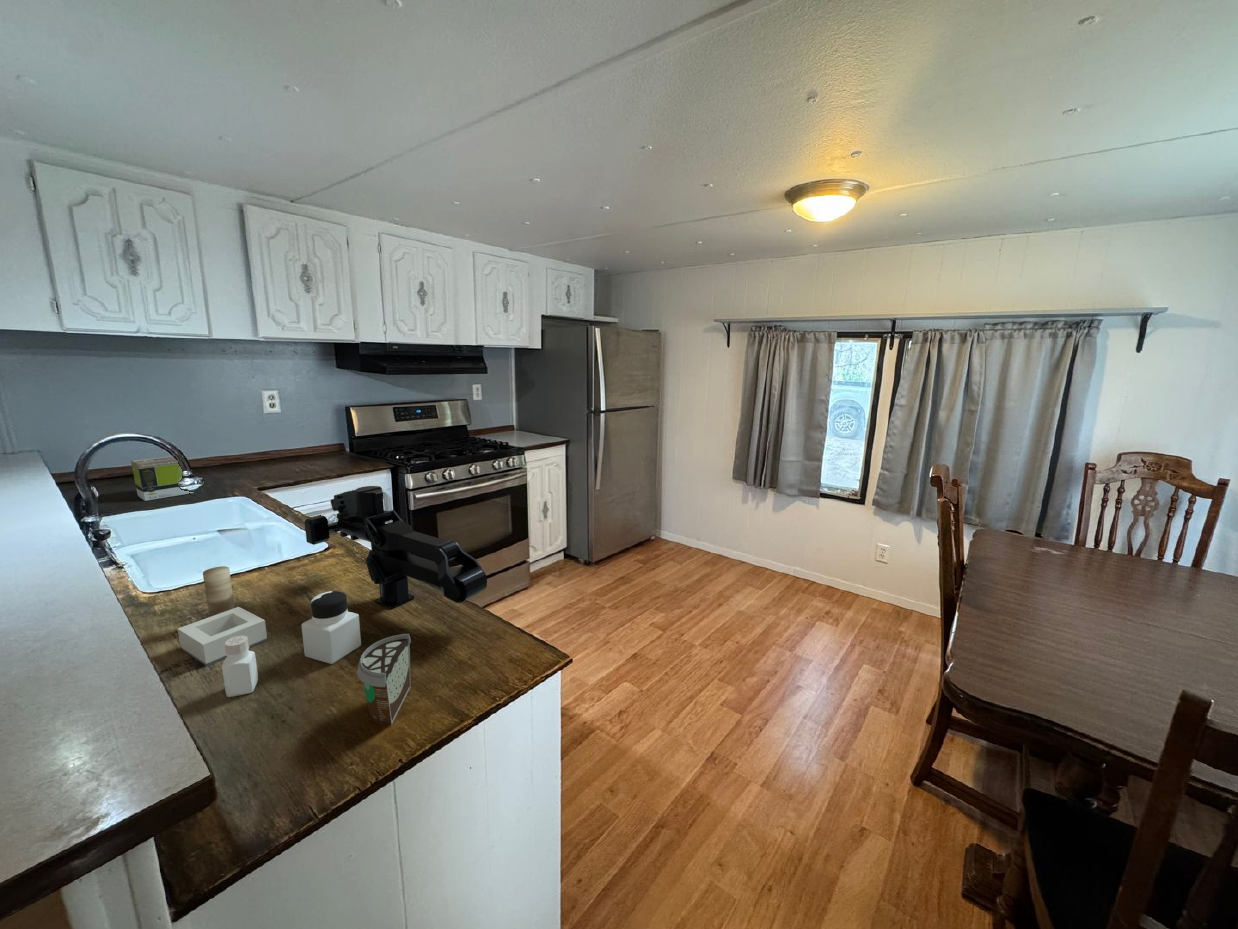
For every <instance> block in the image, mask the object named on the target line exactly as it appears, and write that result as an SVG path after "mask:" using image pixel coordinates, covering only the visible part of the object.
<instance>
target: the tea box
mask: <svg viewBox="0 0 1238 929" xmlns="http://www.w3.org/2000/svg"><path fill="white" fill-rule="evenodd" d="M172 456H173V455H169V456H162V457H151V458H143V459H136V460H131V461H130V463H131V468H132V473H133V478H134V485H135V490H136V493H137V497H139V498H140V499H141V500H143V501H153V500H158V499H164V498H171V497H176V496H183V495H189V493H190V494H194V492H189V491H184V490H181V489H180V488H179V486H178V483H179V481H180V480H181V479H182V476H183V472H182V469H181V467H180V466H179V464H178V461H177V460H175V459H174V458H173V457H172ZM186 458H187V457H186ZM187 460H188V461H189V458H187Z"/></svg>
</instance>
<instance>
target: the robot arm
mask: <svg viewBox="0 0 1238 929" xmlns="http://www.w3.org/2000/svg"><path fill="white" fill-rule="evenodd" d="M329 502H330V505H331V508H332V510H333V512H338V513H336V519H337V521H336V522H331V523H329V520H328V518H327V516H325V515H322V514H318V515H315V516H311V517H308V518H306V519H305V520H304V531H305V540H306V543H307V544H310V545H312V546H314V545H318V544H321V543H325V542H328V541H329V540H330V535H331V534H336V533H338V532H340V533H339V534H340V537H341V538H345V537H348V536H350V540H351V541H357V540H363V541H366V542H368V543H370V547H371V548H370V549H371V550H369V552H368V554H367V557H366V560H365V564H366V568H367V571H368V574H369V577H370V580H371V581H372V582H373V583H374V584H375V585H378V586H379V596H380V597H377V598H375V599H374V603H377V604H379V605H381V606H384V607H387V608H389V609H394V608H396V607H399V606H400V605H402V604H406V602H409V601H411V600H413V599H415V595H413V594H411V593H409V590H410V589H409V578H412V579H415V580H417V581H419V582H420V581H421V582H423V583H427V584H429V585H431V586H434V587H437V588H440V590H441V591H442V594H443V596H444V597H445V598H447V599H448V600H450V601H452V602H454V603H456V604H462V603H464V602H466V601H467V600H469V599H471V598H473V597H475V596H477V595H478V594H480V593H482V592H484V591H486V589H487V586H488V576H487V574H486V572H485V571H484V569H483V567H482V566H481V565H480V563H479V562H478V560H477V559H476V558H474V557H473V556H472V555H471V554H468V552H465V551H464V550H463V549H462V547H461V545H460V544H459V543H458V542H457V541H455V540H447V539H443V538H439V537H436V536H432V535H430V534H429V535H428V534H425V533H423V532H418V531H415V530H413V529H412V526H411V525H410V524H408V523H407V522H405V521H403V519H402V518H401V517H400V515H399V514H398V513H397V512H396V511H395V509H392V510H385V509H384V508H385V507H384V492H383V488H382V487H381V486H379V485H366V486H360V487H357V488H355V489H352V490H348V491H344V492H340V493H337V494H334V495H333V498H332V499H330V501H329ZM390 521H391V522H390ZM387 522H388V523H387ZM452 560H453V561H455V562H456V563H457V564H459V565H461V566H454V567H453V566H449V562H450V561H452Z"/></svg>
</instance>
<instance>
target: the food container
mask: <svg viewBox="0 0 1238 929" xmlns="http://www.w3.org/2000/svg"><path fill="white" fill-rule="evenodd" d="M411 643H412V640H411V636H410V633H402V634H397V635H392V636H388V637H385V638H383V639H380V640H378V641H376V642H374V643H373V644H371V645H370V646H369V647H367V648H366V649H365V650H364V651H363V653H362V655H361V656H360V658H359V662H358V665H357V670H356V671H357V677H358V679H359V680H360V681H361V682H362V683H363V687H364V691H365V692H364V693H365V699H366V704H367V708H368V714H369V717H370V719H371V720H372V721H373V722H375V723H378V724H379V725H380V724H381V725H389V726H391V725H393V723H394V721H395V718H396V717H397V715H398V713H399V711H400V709H401V707H402V705H403V703H404V701H405V699H406V697H407V695H408V693H409V691H410V689H411V648H410V645H411Z"/></svg>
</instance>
